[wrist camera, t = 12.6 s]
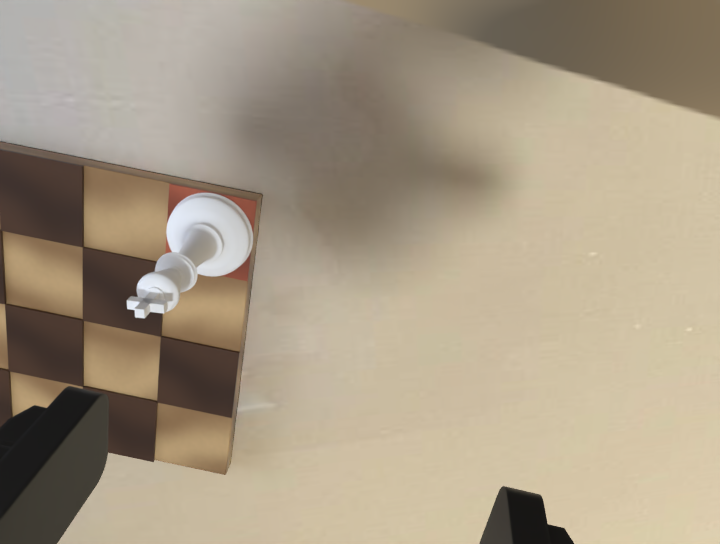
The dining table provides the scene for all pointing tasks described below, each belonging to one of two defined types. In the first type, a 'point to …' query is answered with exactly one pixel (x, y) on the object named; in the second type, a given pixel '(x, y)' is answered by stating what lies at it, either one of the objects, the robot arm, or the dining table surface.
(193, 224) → the chess piece
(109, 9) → the dining table surface
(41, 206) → the game board
